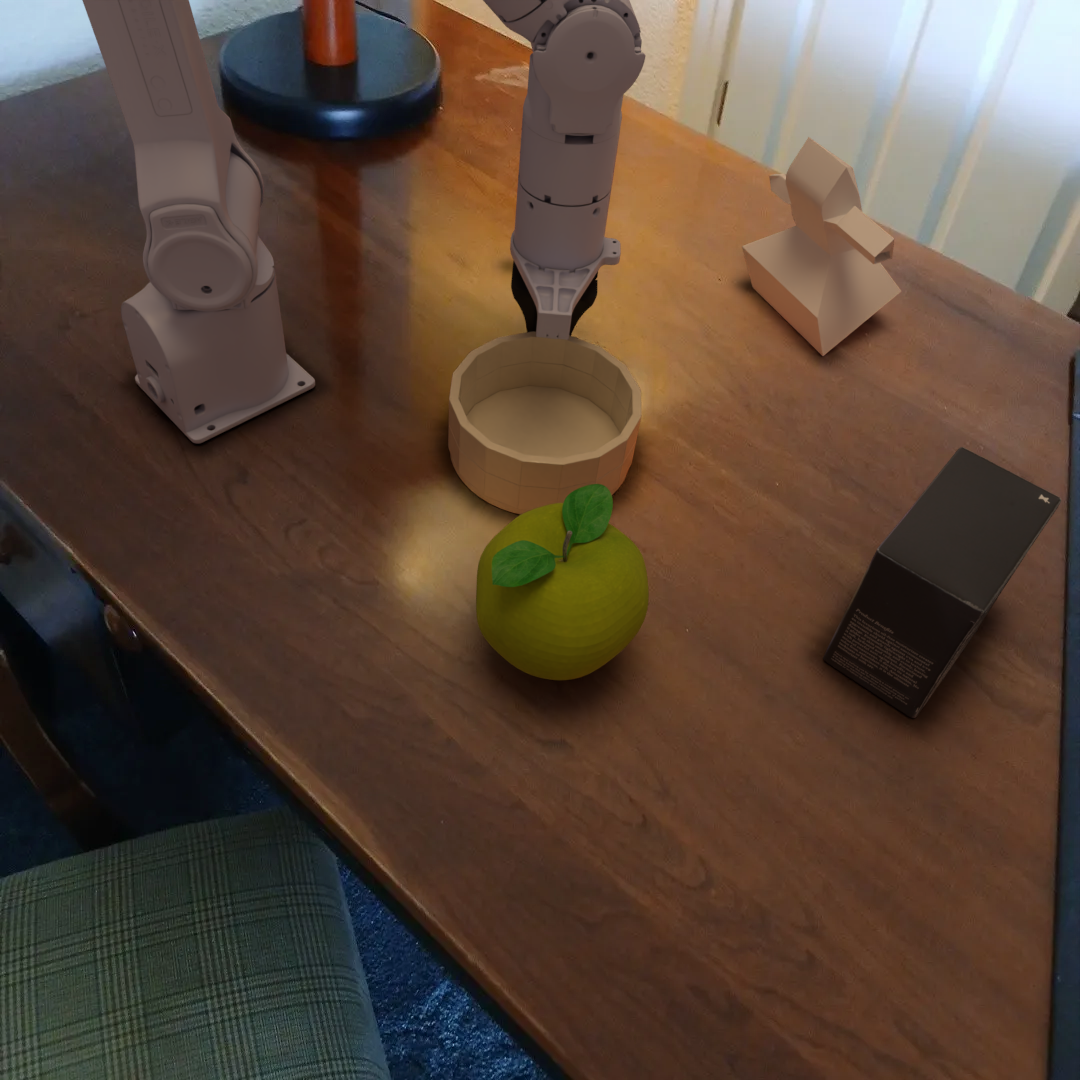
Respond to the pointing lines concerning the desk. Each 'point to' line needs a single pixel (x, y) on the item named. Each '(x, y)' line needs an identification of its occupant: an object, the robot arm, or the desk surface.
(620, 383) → the bowl
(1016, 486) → the small box
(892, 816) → the desk surface
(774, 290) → the beige block sculpture
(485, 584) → the fruit
